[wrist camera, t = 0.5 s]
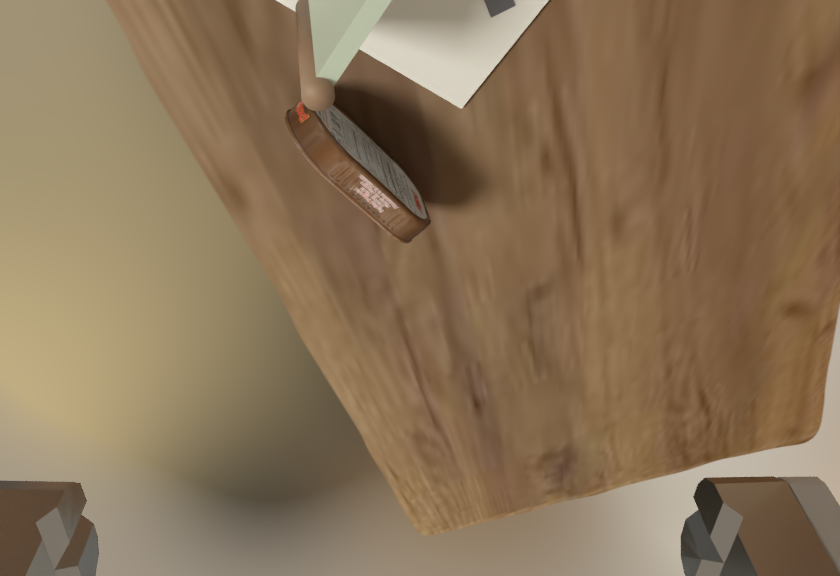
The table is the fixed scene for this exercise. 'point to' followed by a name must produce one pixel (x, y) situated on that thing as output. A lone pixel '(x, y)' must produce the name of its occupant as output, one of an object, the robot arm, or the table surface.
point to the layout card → (447, 40)
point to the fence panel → (330, 43)
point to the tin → (359, 169)
